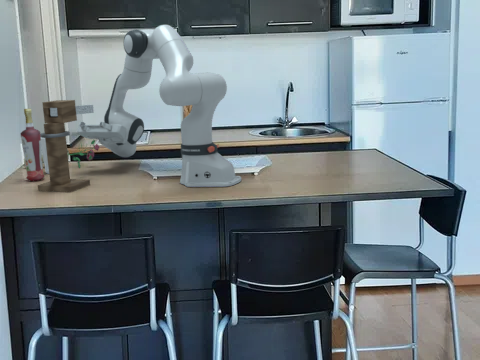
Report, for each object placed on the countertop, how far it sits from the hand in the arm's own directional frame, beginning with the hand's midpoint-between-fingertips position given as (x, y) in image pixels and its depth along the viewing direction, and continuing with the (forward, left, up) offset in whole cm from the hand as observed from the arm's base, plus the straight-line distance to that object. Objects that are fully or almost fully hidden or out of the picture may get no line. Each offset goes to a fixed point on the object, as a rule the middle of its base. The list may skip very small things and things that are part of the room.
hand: (91, 123), depth 235 cm
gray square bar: (0, +11, +5) cm, 12 cm away
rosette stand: (0, +21, -21) cm, 29 cm away
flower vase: (+27, -15, -21) cm, 38 cm away
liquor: (+21, +10, -21) cm, 32 cm away
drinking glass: (+24, -4, -21) cm, 32 cm away
